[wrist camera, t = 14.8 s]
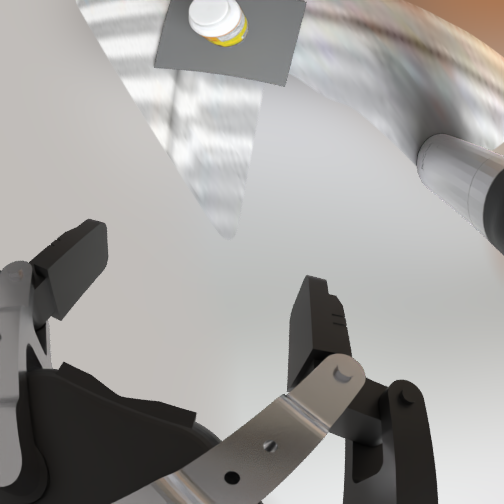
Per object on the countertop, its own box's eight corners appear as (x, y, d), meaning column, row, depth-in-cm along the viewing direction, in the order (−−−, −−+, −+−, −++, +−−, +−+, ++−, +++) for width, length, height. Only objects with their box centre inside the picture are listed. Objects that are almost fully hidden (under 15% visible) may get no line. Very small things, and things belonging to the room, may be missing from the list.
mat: (306, 3, 26) (306, 2, 25) (284, 86, 32) (284, 86, 32) (176, -10, 26) (174, -12, 25) (156, 68, 32) (154, 67, 31)
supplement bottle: (200, 24, 28) (172, 2, 19) (238, 6, 26) (222, -22, 17) (217, 55, 30) (193, 41, 21) (257, 38, 29) (246, 16, 20)
